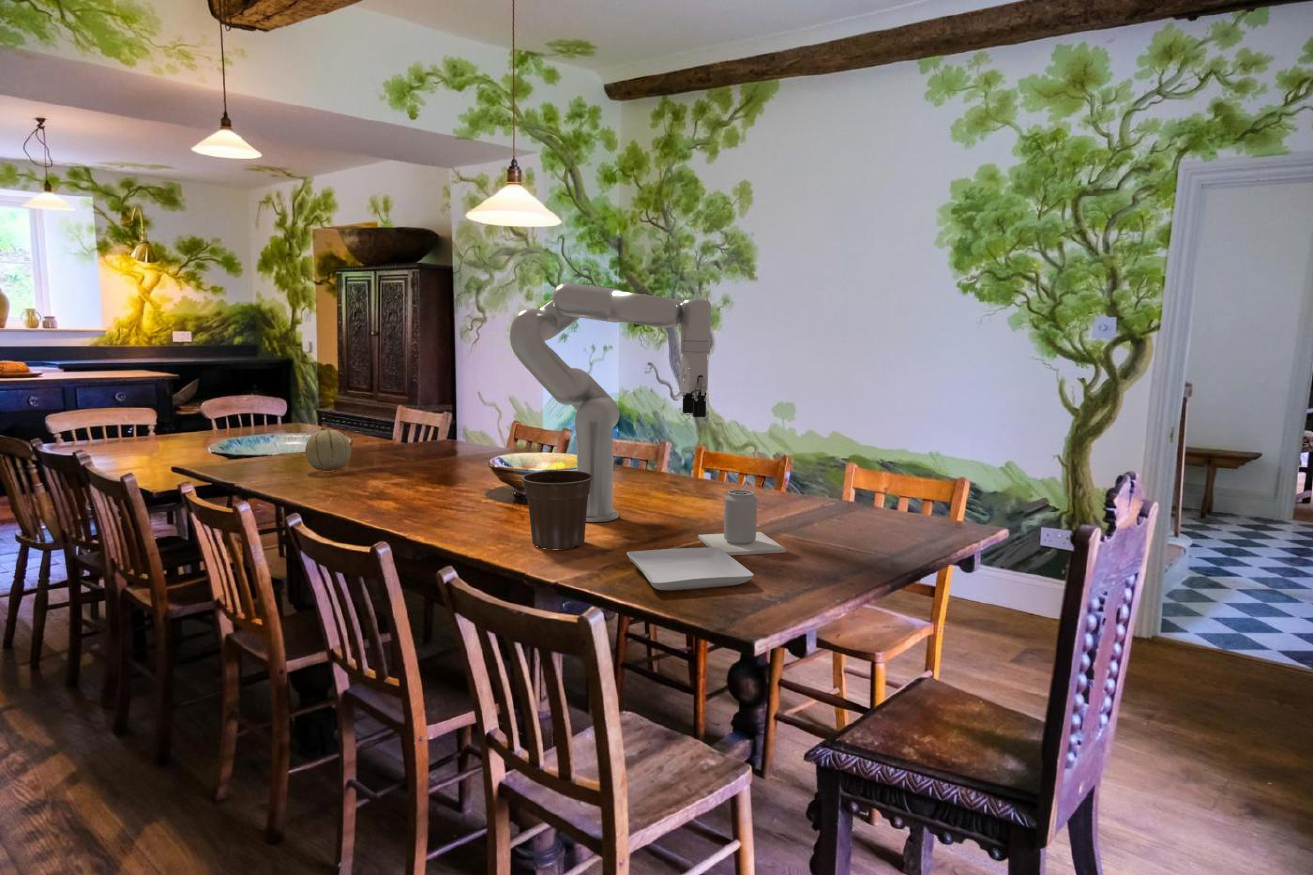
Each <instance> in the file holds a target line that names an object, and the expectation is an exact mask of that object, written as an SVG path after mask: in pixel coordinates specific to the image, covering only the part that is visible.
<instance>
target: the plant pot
mask: <svg viewBox="0 0 1313 875" xmlns="http://www.w3.org/2000/svg"><path fill="white" fill-rule="evenodd" d="M592 479H593V476H592V475H591V474H589V473H586V472H581V471H577V470H570V469H569V470H568V469H566V470H564V469H563V470H561V469H560V470H554V469H553V470H544V471H536V472H535V471H534V472H530V473H526V474H523V475H522V476H521V481H522V482H523V485H524V492H525V496H526V500H527V506H528V516H529V523H530V524H529V525H530V533H531V542H532V545H533V544H534V545H535V546H538V548H541V547H542V548H546V549H565V550H570V548H572V549H575V547H578V546H579V547H581V546H583V545H584V544H585V538H586V537H585V536H586V525H587V524H586V523H587V522H586V514H587V502H588V494H589V493H590V484H591V480H592ZM534 545H533V546H534ZM535 546H534V547H535ZM539 546H540V547H539ZM542 548H541V549H542ZM546 549H545V550H546Z"/></svg>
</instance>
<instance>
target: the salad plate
mask: <svg viewBox="0 0 1313 875" xmlns="http://www.w3.org/2000/svg"><path fill="white" fill-rule="evenodd" d="M626 555H627V557H628V558H629V560H630V561H631V562H632V563H633V565H635V566H636V568H637V569H639V571H641V573H642V574H643V575H644V577H645V578H646V579H647V580H648V582H649V583H650V585H651V586H652V587H653V588H655V589H657V590H659V591H683V590H684V589H685V590H696V589H708V588H719V587H720V588H721V587H730V586H736V585H742V584H744V583H747V582H749V581H751V579H753V577H754V573H753V572H752V571H750V570H749V569H748V568H747V567H745V566H744V565H743V564H741V563H740V562H739V561H737V560H736V559H735V558H733V557H732V555H728V554H727V553H726V552H724V551H723V550H722V549H720V548H717V547H708V546H707V547H688V548H687V547H686V548H685V547H683V548H681V547H680V548H666V549H665V548H663V549H652V550H651V549H650V550H635V551H627V552H626Z"/></svg>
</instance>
